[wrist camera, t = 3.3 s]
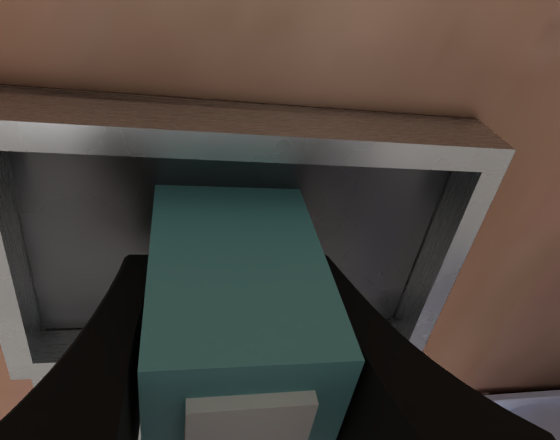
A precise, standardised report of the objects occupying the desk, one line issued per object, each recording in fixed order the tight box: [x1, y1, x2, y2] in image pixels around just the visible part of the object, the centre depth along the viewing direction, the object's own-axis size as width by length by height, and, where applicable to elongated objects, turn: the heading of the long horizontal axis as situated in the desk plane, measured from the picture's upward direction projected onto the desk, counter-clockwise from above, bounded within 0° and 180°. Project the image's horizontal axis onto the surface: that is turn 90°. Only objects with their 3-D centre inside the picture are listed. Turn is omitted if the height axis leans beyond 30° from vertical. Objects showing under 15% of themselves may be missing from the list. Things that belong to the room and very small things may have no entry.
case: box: [0, 85, 516, 380], centre depth 14 cm, size 13×8×2 cm, turn 82°
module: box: [137, 185, 365, 440], centre depth 12 cm, size 4×4×6 cm
